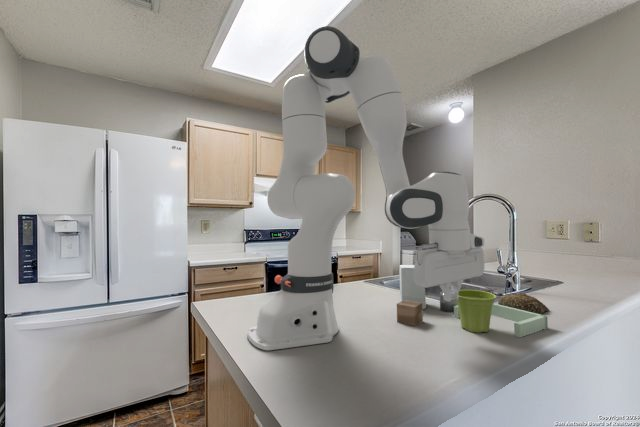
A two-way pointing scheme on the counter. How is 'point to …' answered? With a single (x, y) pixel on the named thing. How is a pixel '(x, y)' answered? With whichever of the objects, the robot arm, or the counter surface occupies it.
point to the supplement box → (410, 286)
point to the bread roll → (523, 303)
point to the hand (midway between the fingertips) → (451, 300)
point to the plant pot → (475, 309)
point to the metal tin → (447, 304)
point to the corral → (517, 319)
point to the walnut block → (409, 312)
